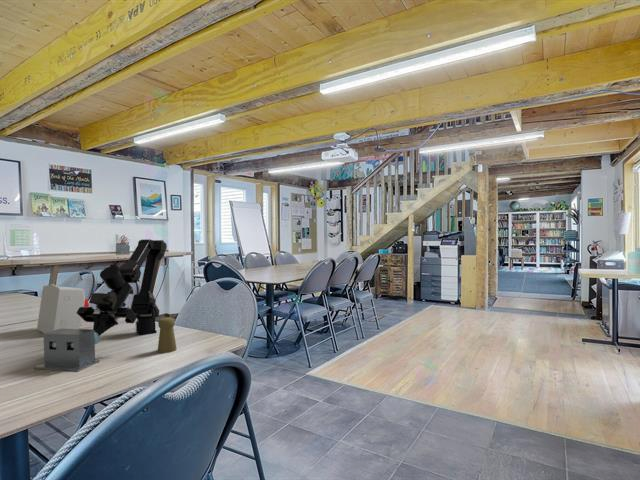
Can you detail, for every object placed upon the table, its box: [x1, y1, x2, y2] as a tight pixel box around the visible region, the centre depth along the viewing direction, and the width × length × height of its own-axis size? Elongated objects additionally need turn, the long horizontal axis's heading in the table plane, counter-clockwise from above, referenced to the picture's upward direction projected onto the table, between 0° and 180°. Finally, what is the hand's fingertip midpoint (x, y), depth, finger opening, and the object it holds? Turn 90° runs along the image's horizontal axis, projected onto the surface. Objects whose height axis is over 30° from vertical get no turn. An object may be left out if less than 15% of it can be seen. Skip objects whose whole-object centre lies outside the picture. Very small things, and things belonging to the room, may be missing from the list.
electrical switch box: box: [36, 283, 90, 334], centre depth 158 cm, size 15×15×20 cm
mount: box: [33, 328, 100, 372], centre depth 113 cm, size 8×15×10 cm, turn 80°
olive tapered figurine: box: [157, 316, 177, 354], centre depth 127 cm, size 6×6×11 cm
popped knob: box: [71, 332, 100, 348], centre depth 115 cm, size 8×4×4 cm, turn 170°
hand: (93, 337), depth 119 cm, fingers closed
